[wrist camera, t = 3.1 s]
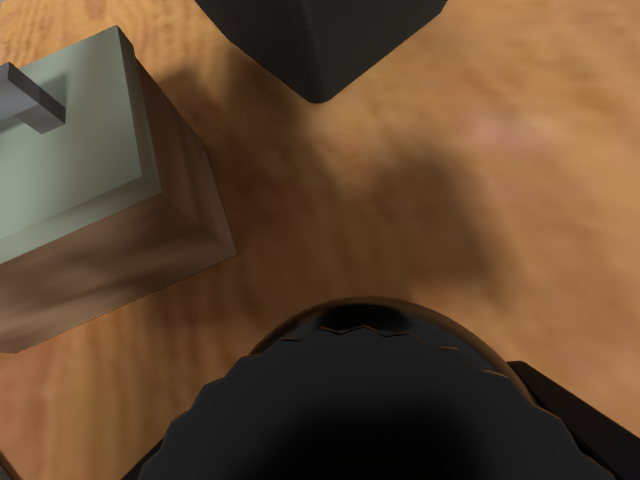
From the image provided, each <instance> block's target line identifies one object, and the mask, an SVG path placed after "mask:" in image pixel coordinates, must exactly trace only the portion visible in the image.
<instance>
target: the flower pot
mask: <svg viewBox="0 0 640 480" xmlns="http://www.w3.org/2000/svg"><path fill="white" fill-rule="evenodd" d="M195 1H196V3H197V4H198V5H199V6H200V7H201V9H202V10H203V11H204V12H205V13H206V15H207V16H208V17H209V18H210V19H211V20H212V22H213V23H214V24H215V25H216V26H217V27H218V28H219V30H220V31H221V32H222V33H223V34H224V35H225V36H226V38H228V39H229V40H230V41H232V42H233V43H234V44H235V45H237V46H238V47H239V48H241V49H242V50H243V51H244V52H246V53H247V54H248V55H250V56H251V57H252V58H253V59H255V60H256V61H257V62H259V63H260V64H261V65H262V66H264V67H265V68H266V69H268V70H269V71H270V72H272V73H273V74H274V75H275V76H277V77H278V78H279V79H281V80H282V81H283V82H284V83H286V84H287V85H288V86H290V87H291V88H292V89H293V90H295V91H296V92H297V93H299V94H300V95H301V96H303V97H304V98H305V99H307V100H308V101H310V102H312V103H323V102H326V101H328V100H330V99H331V98H333V97H334V96H335V95H336V94H338V93H339V92H340V91H341V90H343V89H344V88H345V87H346V86H348V85H349V84H350V83H351V82H353V81H354V80H355V79H357V78H358V77H359V76H361V75H362V74H363V73H364V72H366V71H367V70H368V69H369V68H371V67H372V66H373V65H375V64H376V63H377V62H378V61H380V60H381V59H382V58H384V57H385V56H386V55H388V54H389V53H390V52H391V51H392V50H394V49H395V48H396V47H397V46H399V45H400V44H401V43H403V42H404V41H405V40H406V39H408V38H409V37H410V36H412V35H413V34H414V33H415V32H417V31H418V30H419V29H420V28H422V27H423V26H424V25H425V24H427V23H428V22H429V21H431V20H432V19H433V18H434V17H436V16H437V15H438V14H439V13H440V12H441V11H442V9H443V7H444V6H445V4H446V2H447V1H448V0H195Z"/></svg>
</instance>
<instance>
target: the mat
mask: <svg viewBox="0 0 640 480" xmlns="http://www.w3.org/2000/svg"><path fill="white" fill-rule="evenodd" d="M0 480H11V478H10V477H9V476H8V474H7V473H6V472H5V470H4V469H3V468H2V466H1V465H0Z"/></svg>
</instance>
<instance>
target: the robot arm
mask: <svg viewBox="0 0 640 480" xmlns="http://www.w3.org/2000/svg"><path fill="white" fill-rule="evenodd" d="M506 363H507V364H508V365H509V366H510V367H511V368H512V369H513V371H514V372H515V373H516V374H517V375H518V376H519V378H520V379H521V380H522V381H523V383H524V384H525V385H526V387H527V388H528V389H529V391H530V392H531V394H532V395H533V396H534V398H535V399H536V401H537V403H538V404H539V406H540V407H541V408H542V409H544V410H546V411H548V412H550V413H552V414H554V415H556V416H557V417H559V418H560V419H561V420H562V421H563V423H564V424H565V426H566V427H567V428H568V430H569V431H570V433H571V434H572V436H573V438H574V441H575V443H576V445H577V446H578V448H579V449H580V451H581V452H582V453H583V454H585V455H587V456H589V457H590V458H592V459H593V460H594V461H596V462H597V463H598V464H600V465H601V466H602V467H604V468H605V469H606V470H607V471H609V472H610V473H611V474H612V475H613V476H614V477H615V479H616V480H640V438H639V437H637V436H636V435H634V434H633V433H631V432H630V431H628V430H627V429H625V428H624V427H622V426H620V425H619V424H617V423H616V422H614V421H613V420H611V419H610V418H608V417H607V416H605V415H604V414H602V413H601V412H599V411H598V410H596V409H595V408H593V407H592V406H590V405H589V404H587V403H586V402H584V401H583V400H581V399H580V398H578V397H577V396H575V395H574V394H572V393H571V392H569V391H568V390H566V389H565V388H563V387H561V386H560V385H558V384H557V383H555V382H554V381H552V380H551V379H549V378H548V377H546V376H545V375H543V374H542V373H540V372H539V371H537V370H536V369H534V368H533V367H531V366H530V365H528V364H527V363H525V362H523V361H508V362H506ZM163 439H164V437H163V438H162V439H161V440H160V441H159V442H158V443H157V444H156V445H155V446H154V447H153V448H152V449H151V450H150V451H149V452H148V453H147V454H146V455H145V456H144V457H143V458H142V459H141V460H140V461H139V462H138V463H137V464H136V465H135V466H134V467H133V468H132V469H131V470H130V471H129V472H128V473H127V474H126V475H125V476H124V477H123V478H122V479H121V480H137V479H138V476H139V473H140V469H141V467H142V465H143V464H144V463H145V462H146V461H147V460H148V459H149V458H150V457H151V456H152V455H154V454H155V453H156V452H157V451H158V450H159V449H160V447H161V444H162V442H163Z"/></svg>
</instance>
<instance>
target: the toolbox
mask: <svg viewBox="0 0 640 480" xmlns="http://www.w3.org/2000/svg"><path fill="white" fill-rule="evenodd" d="M235 255H237V252H236V248H235V245H234V242H233V238H232V235H231V232H230V228H229V225H228V222H227V218H226V215H225V212H224V208H223V205H222V201H221V198H220V195H219V191H218V188H217V185H216V181H215V178H214V175H213V171H212V168H211V165H210V161H209V158H208V155H207V151H206V148H205V145H204V144H203V143H202V141H201V140H200V139H199V137H198V136H197V135H196V134H195V132H194V131H193V130H192V128H191V127H190V126H189V125H188V123H187V122H186V121H185V120H184V118H183V117H182V116H181V114H180V113H179V112H178V111H177V109H176V108H175V107H174V105H173V104H172V103H171V102H170V100H169V99H168V98H167V97H166V95H165V94H164V93H163V91H162V90H161V89H160V88H159V86H158V85H157V84H156V82H155V81H154V80H153V79H152V77H151V76H150V75H149V74H148V72H147V71H146V70H145V68H144V67H143V66H142V65H141V63H140V62H139V61H138V60H137V58H136V57H135V53H134V48H133V45H132V44H131V42H130V41H129V40H128V38H127V37H126V36H125V34H124V33H123V32H122V31H121V29H120V28H119V27H118V25H115V26H113V27H111V28H108V29H106V30H104V31H102V32H99V33H97V34H95V35H93V36H91V37H88V38H86V39H84V40H82V41H79V42H77V43H75V44H73V45H70V46H68V47H66V48H64V49H62V50H59V51H57V52H55V53H53V54H50V55H48V56H46V57H44V58H41V59H39V60H37V61H35V62H33V63H30V64H28V65H26V66H24V67H21V68H19V69H18V68H16V67H15V66H14V65H13V64H12V63H10V62H8V63H5V64H3V65H1V66H0V353H18V352H20V351H22V350H25V349H27V348H29V347H31V346H34V345H36V344H38V343H40V342H42V341H45V340H47V339H49V338H51V337H54V336H56V335H58V334H60V333H63V332H65V331H67V330H69V329H72V328H74V327H76V326H78V325H81V324H83V323H85V322H87V321H90V320H92V319H94V318H96V317H98V316H101V315H103V314H105V313H107V312H110V311H112V310H114V309H116V308H119V307H121V306H123V305H125V304H128V303H130V302H132V301H134V300H137V299H139V298H141V297H143V296H146V295H148V294H150V293H152V292H154V291H157V290H159V289H161V288H163V287H166V286H168V285H170V284H172V283H175V282H177V281H179V280H181V279H184V278H186V277H188V276H190V275H193V274H195V273H197V272H199V271H202V270H204V269H206V268H208V267H211V266H213V265H215V264H217V263H219V262H222V261H224V260H226V259H228V258H231V257H233V256H235Z"/></svg>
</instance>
